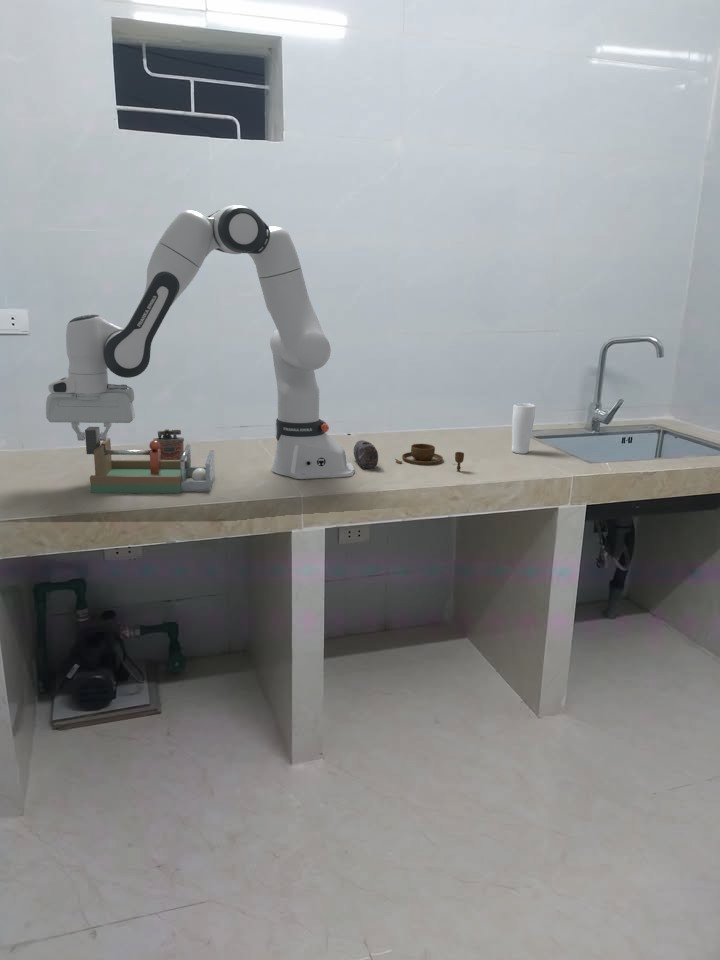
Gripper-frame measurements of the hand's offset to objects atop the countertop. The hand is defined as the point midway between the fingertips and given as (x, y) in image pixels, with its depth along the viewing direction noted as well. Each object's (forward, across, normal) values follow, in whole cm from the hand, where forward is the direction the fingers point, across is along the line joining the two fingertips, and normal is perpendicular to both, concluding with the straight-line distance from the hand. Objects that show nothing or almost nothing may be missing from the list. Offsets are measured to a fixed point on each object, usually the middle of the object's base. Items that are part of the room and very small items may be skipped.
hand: (92, 440), depth 182 cm
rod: (+8, -7, 0) cm, 11 cm away
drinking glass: (+12, -121, -35) cm, 126 cm away
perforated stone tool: (+12, -70, -20) cm, 73 cm away
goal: (+11, -25, 0) cm, 28 cm away
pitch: (+11, -11, 0) cm, 16 cm away
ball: (+9, -26, 0) cm, 27 cm away
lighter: (+11, -16, -18) cm, 26 cm away
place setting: (+12, -88, -20) cm, 91 cm away
